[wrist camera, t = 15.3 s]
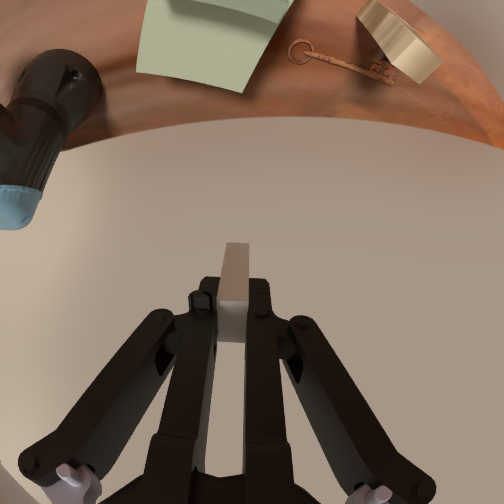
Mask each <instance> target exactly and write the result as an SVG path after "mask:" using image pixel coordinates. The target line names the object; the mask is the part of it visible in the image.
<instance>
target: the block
mask: <svg viewBox="0 0 504 504" xmlns="http://www.w3.org/2000/svg"><path fill="white" fill-rule="evenodd" d="M356 16H357V18H358V19H359V20H360V21H361V22H362V24H363V25H364V26H365V27H366V29H367V30H368V31H369V33H370V34H371V35H372V37H373V38H374V39H375V41H376V42H377V43H378V45H379V46H380V47H381V49H382V50H383V52H384V53H385V55H386V56H387V58H388V59H389V61H390V62H391V64H393V65H394V66H396V67H397V68H398V69H400V70H401V71H402V72H404V73H405V74H407V75H408V76H409V77H411V78H412V79H413V80H414V81H416V82H417V83H418V84H420V83H421V82H422V81H423V80H425V79H426V78H427V77H428V76H429V75H430V74H431V73H432V72H433V71H434V70H435V69H437V68H438V67H439V66H440V65H441V64H442V63H443V61H442V60H441V59H440V58H439V56H438V55H437V54H436V53H435V52H434V51H433V50H432V48H431V47H430V46H429V45H428V44H427V43H426V42H425V41H424V40H423V39H422V38H421V37H420V36H419V35H418V34H417V33H416V32H415V31H414V30H413V29H412V28H411V27H410V26H409V25H408V24H407V23H406V22H405V21H404V20H403V19H402V18H401V17H400V16H398V15H397V14H396V13H395V12H394V11H392V10H391V9H389V8H388V7H386V6H385V5H384V4H382V3H381V2H379V1H377V0H368V1H367V2H366V4H365V5H364V6H363V7H362V9H361V10H360V11H359V12H358V14H357V15H356Z"/></svg>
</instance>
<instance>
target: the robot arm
mask: <svg viewBox="0 0 504 504" xmlns="http://www.w3.org/2000/svg"><path fill="white" fill-rule="evenodd" d="M100 94H101V84H100V80H99V77H98V74H97V72H96V71H95V69H94V68H93V66H92V65H91V64H90V63H89V62H88V61H87V60H86V59H85V58H84V57H82V56H81V55H79V54H77V53H75V52H72V51H69V50H64V49H53V50H48V51H45V52H43V53H41V54H39V55H38V56H36V57H35V58H34V59H33V60H32V61H31V62H30V63H29V65H28V66H27V67H26V68H25V69H24V71H23V72H22V74H21V76H20V78H19V81H18V84H17V86H16V88H15V90H14V93H13V95H12V98H11V101H10V103H9V104H8V106H7V107H6V108H5V107H4V106H3V105H2V104H0V230H19V229H22V228H24V227H26V226H27V225H28V224H29V223H30V222H31V220H32V218H33V216H34V213H35V210H36V208H37V205H38V203H39V201H40V200H41V198H42V195H43V194H42V193H43V191H44V188H45V185H46V183H47V180H48V178H49V175H50V173H51V170H52V168H53V166H54V163H55V161H56V159H57V157H58V154H59V152H60V150H61V148H62V146H63V144H64V142H65V140H66V138H67V137H68V136H69V135H70V134H71V133H72V132H73V131H74V130H75V129H76V128H77V127H78V126H79V125H80V124H81V123H82V122H83V121H85V120H86V119H87V118H88V117H89V116H90V115H91V113H92V112H93V110H94V108H95V106H96V105H97V103H98V101H99V99H100ZM188 300H189V312H187V313H185V314H181V315H173V313H172V312H171V311H170V310H167V309H156V310H154V311H152V312H151V313H150V314H149V315H148V316H147V317H146V318H145V319H144V320H143V322H142V323H141V324H140V325H139V326H138V327H137V329H136V330H135V331H134V332H133V333H132V335H131V336H130V337H129V338H128V339H127V340H126V342H125V343H124V344H123V345H122V346H121V348H120V349H119V350H118V351H117V352H116V354H115V355H114V356H113V357H112V359H111V360H110V361H109V362H108V363H107V365H106V366H105V367H104V368H103V370H102V371H101V372H100V373H99V375H98V376H97V377H96V378H95V380H94V381H93V382H92V383H91V385H90V386H89V387H88V388H87V390H86V391H85V392H84V394H83V395H82V396H81V398H80V399H79V400H78V401H77V403H76V404H75V405H74V407H73V408H72V409H71V410H70V412H69V413H68V414H67V416H66V417H65V419H64V420H63V421H62V422H61V424H60V425H59V427H58V428H57V429H56V430H55V431H54V432H52V433H50V434H49V435H47V436H46V437H44V438H43V439H41V440H39V441H38V442H36V443H35V444H33V445H32V446H30V447H28V448H27V449H25V450H24V451H23V452H22V453H21V454H20V456H19V458H18V466H19V469H20V472H21V473H22V474H23V475H24V476H25V477H26V478H28V479H29V480H31V481H33V482H34V483H36V484H37V485H39V486H40V487H41V488H42V489H43V491H44V492H45V494H46V495H47V497H48V498H49V499H50V501H51V502H52V504H95V503H96V500H97V498H98V497H99V496H101V494H102V485H101V483H100V480H102V479H103V478H104V476H105V475H106V474H107V473H108V472H109V471H110V470H111V468H112V467H113V465H114V464H115V462H116V460H117V459H118V457H119V455H120V454H121V452H122V450H123V449H124V447H125V445H126V444H127V442H128V440H129V438H130V437H131V435H132V434H133V432H134V430H135V428H136V427H137V425H138V424H139V422H140V420H141V419H142V417H143V415H144V414H145V412H146V410H147V408H148V407H149V405H150V403H151V402H152V400H153V399H154V397H155V395H156V394H157V392H158V390H159V389H160V387H161V385H162V384H163V382H164V380H165V379H166V377H167V375H168V374H169V372H170V370H171V369H172V367H173V366H174V368H173V372H172V375H171V379H170V383H169V387H168V391H167V395H166V399H165V403H164V408H163V412H162V416H161V421H160V425H159V429H158V432H157V433H156V434H154V435H153V436H152V438H151V441H150V445H149V450H148V454H147V459H146V464H145V469H144V474H143V475H140V476H139V477H137V478H135V479H134V480H133V481H131V482H130V483H129V484H127V485H126V486H124V487H123V488H121V489H120V490H118V491H117V492H115V493H114V494H112V495H111V496H110V497H108V498H106V499H105V500H103V501H102V502H100V503H98V504H321V503H319V502H318V501H317V500H316V499H315V498H314V497H312V496H311V495H310V494H309V493H308V492H307V491H306V490H305V489H303V488H302V487H300V486H298V485H297V484H295V483H294V477H293V465H292V454H291V447H290V444H289V443H288V442H287V438H286V426H285V415H284V405H283V393H282V384H281V373H280V363H279V359H282V361H283V364H284V366H285V369H286V371H287V373H288V375H289V378H290V380H291V382H292V384H293V386H294V388H295V391H296V393H297V395H298V397H299V400H300V402H301V404H302V406H303V409H304V411H305V413H306V415H307V417H308V419H309V422H310V424H311V426H312V428H313V430H314V432H315V435H316V437H317V439H318V441H319V443H320V445H321V448H322V450H323V452H324V454H325V456H326V458H327V460H328V462H329V464H330V467H331V469H332V471H333V473H334V475H335V477H336V479H337V481H338V483H339V484H340V486H341V487H342V489H343V490H344V491H345V493H346V494H347V495H348V496H349V497H348V499H347V501H346V503H345V504H428V503H429V502H430V501H431V500H432V499H433V497H434V496H435V493H436V484H435V481H434V480H433V479H432V478H431V477H430V476H429V475H427V474H426V473H425V472H423V471H422V470H421V469H419V468H418V467H416V466H415V465H414V464H413V463H411V462H410V461H409V460H407V459H406V458H405V457H403V456H402V455H401V454H400V453H398V452H397V450H396V449H395V447H394V446H393V444H392V442H391V441H390V439H389V437H388V436H387V434H386V432H385V431H384V429H383V428H382V426H381V425H380V423H379V421H378V420H377V418H376V416H375V415H374V413H373V412H372V410H371V408H370V407H369V405H368V404H367V402H366V400H365V399H364V397H363V396H362V394H361V392H360V391H359V389H358V388H357V386H356V385H355V383H354V381H353V380H352V378H351V377H350V376H349V374H348V372H347V370H346V369H345V367H344V366H343V364H342V363H341V361H340V359H339V358H338V356H337V355H336V353H335V352H334V350H333V349H332V347H331V345H330V344H329V343H328V341H327V339H326V338H325V336H324V335H323V333H322V332H321V330H320V329H319V327H318V325H317V324H316V322H315V321H314V320H313V319H311V318H310V317H308V316H303V315H300V316H299V315H298V316H294V317H293V318H291V319H290V321H288V320H284V319H281V318H279V317H277V316H276V315H275V314H274V312H273V311H272V305H271V297H270V287H269V283H268V282H267V280H266V279H259V278H249V243H227V245H226V250H225V256H224V261H223V267H222V272H221V277H208V276H207V277H205V278H204V279H202V280H201V282H200V286H199V289H198V290H196V291H193V292H192V293H190V294H189V296H188ZM217 341H219V342H237V343H246V344H245V378H244V423H243V470H242V474H240V475H234V476H228V477H220V478H219V477H215V476H212V475H209V474H205V452H206V442H207V432H208V422H209V413H210V404H211V394H212V386H213V378H214V369H215V361H216V352H217ZM0 504H40V503H38V502H37V501H36V500H35V499H34V498H33V497H32V496H31V495H30V494H29V493H28V492H27V491H26V490H25V489H24V488H23V487H22V486H21V485H20V484H19V483H18V482H17V481H16V480H15V479H14V478H13V477H12V476H11V475H10V474H9V473H8V471H7V470H6V469H5V468H4V467H3V466H2V465H1V462H0Z"/></svg>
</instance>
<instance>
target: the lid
mask: <svg viewBox="0 0 504 504" xmlns="http://www.w3.org/2000/svg"><path fill="white" fill-rule="evenodd" d="M293 1H294V0H148V2H147V6H146V11H145V16H144V21H143V26H142V32H141V38H140V44H139V51H138V59H137V67H136V72H141V73H149V74H156V75H163V76H169V77H174V78H180V79H185V80H190V81H195V82H200V83H204V84H208V85H213V86H217V87H221V88H225V89H228V90H232V91H236V92H239V93H242V92H243V90H244V88H245V86H246V84H247V82H248V80H249V78H250V76H251V74H252V72H253V70H254V69H255V67H256V65H257V63H258V61H259V59H260V57H261V55H262V54H263V52H264V50H265V48H266V46H267V45H268V43H269V41H270V39H271V38H272V36H273V34H274V32H275V31H276V29H277V27H278V25H279V24H280V22H281V20H282V19H283V17H284V15H285V14H286V12H287V11H288V9H289V7H290V6H291V4H292V3H293Z"/></svg>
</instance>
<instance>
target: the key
mask: <svg viewBox="0 0 504 504" xmlns="http://www.w3.org/2000/svg"><path fill="white" fill-rule="evenodd" d="M298 42H306V43H308V44H309V45H310V46H311V48H312V51H304V53H305V54H307V55H308V56H309V57H308V58H307V59H306V60H303V61H296V60H294V59H293V58H292V57H291V55H290V51H291V48H292V47H293V45H295V44H296V43H298ZM288 56H289V58H290V60H291V61H292V62H294V63H297V64H303V63H306V62H307V61H309V60H310V59H311V57H314V58H318V59H320V60H324V61H328V62H329V63H331V64H332V63H333V64H336V65H339V66H342V67H345V68H348V69H351V70H354V71H356V72H359V73H362V74H364V75H367V76H369V77H372V78H374V79H377V80H379V81H382V82H384V83H386V84H388V85H391V86H393V85H394V81H392V80H391V79H392V77H393V76H394V74H395V72H393V71H391V70H389V69H387V68H390V69H392V70H394V71H397V69H396V68H394V67H392V66H391V65H389V64H388V66H387V68H386V69H385V70H384V68H385V66H386V65H387V63H386V64H385V65H384V67H383V69H382V70H381V68H382V66H380V65H378V64H375V63H373V64H372V66H371V67H370V69H369V70H366V69H364V68H361V67H359V66H356V65H353V64H351V63H348V62H345V61H342V60H339V59H336V58H334V57H329V56H327V55H326V56H325V55H322V54H319V53H315V52H314V47H313V45H312V43H311V42H310V41H309V40H307V39H297V40H295V41H293V42H292V43H291V44H290V46H289V48H288ZM374 62H376V63H379V64H381V65H383V64H384V63H385V62H384V61H383V60H381V59H379V58H378V57H377V58H376V59H375V61H374ZM374 67H375V68H374ZM373 68H374V70H375V71H377V72H379V71H380V70H381V72H380V73H377V72H375V71H372V69H373ZM383 70H384V72H383ZM382 72H383V74H384V75H386V76H388V75H389V74H390V75H389V77H386V76H384V75H381V73H382Z"/></svg>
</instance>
